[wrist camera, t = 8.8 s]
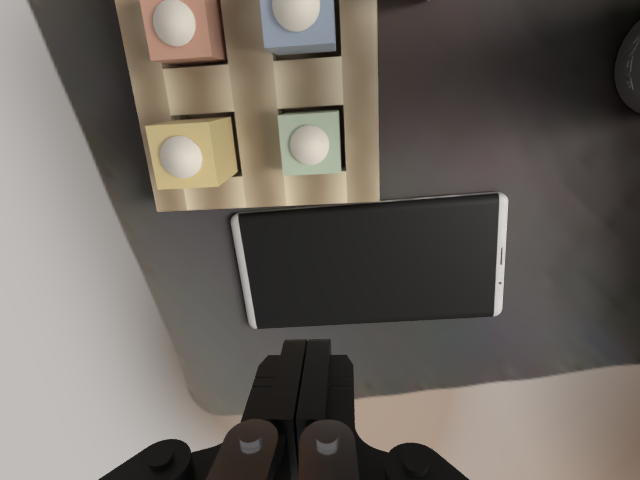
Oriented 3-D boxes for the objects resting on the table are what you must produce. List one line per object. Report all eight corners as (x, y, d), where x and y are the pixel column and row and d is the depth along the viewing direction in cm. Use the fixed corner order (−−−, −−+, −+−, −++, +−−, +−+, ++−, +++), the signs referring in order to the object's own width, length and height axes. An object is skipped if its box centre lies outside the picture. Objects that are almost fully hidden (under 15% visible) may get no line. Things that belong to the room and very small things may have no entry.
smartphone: (232, 210, 43) (227, 215, 41) (503, 188, 40) (510, 192, 38) (252, 322, 47) (248, 331, 45) (497, 309, 45) (503, 318, 43)
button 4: (339, 108, 37) (338, 112, 31) (341, 160, 38) (341, 173, 32) (287, 111, 37) (276, 115, 31) (291, 163, 38) (282, 176, 33)
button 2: (230, 116, 34) (207, 122, 29) (237, 171, 36) (217, 187, 30) (177, 120, 35) (142, 126, 29) (186, 174, 36) (155, 190, 30)
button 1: (225, 1, 34) (200, -18, 28) (232, 61, 36) (210, 56, 30) (171, 5, 35) (135, -12, 29) (180, 65, 36) (148, 60, 30)
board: (371, -53, 34) (375, -73, 29) (375, 189, 40) (379, 201, 36) (133, -31, 35) (104, -48, 31) (176, 199, 42) (157, 211, 37)
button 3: (333, -17, 31) (330, -42, 25) (336, 51, 32) (334, 42, 26) (272, -12, 31) (255, -36, 25) (277, 55, 33) (263, 47, 27)
